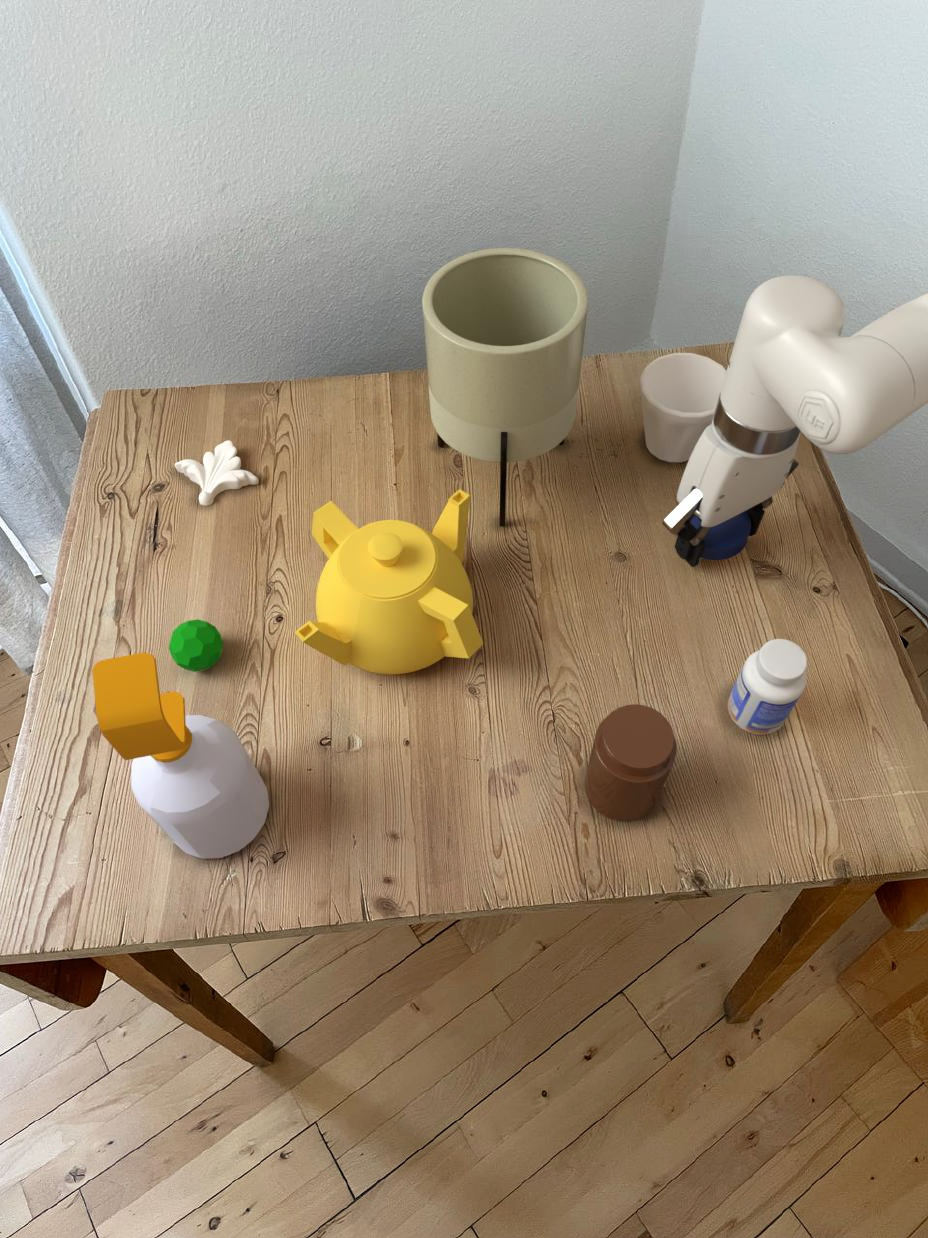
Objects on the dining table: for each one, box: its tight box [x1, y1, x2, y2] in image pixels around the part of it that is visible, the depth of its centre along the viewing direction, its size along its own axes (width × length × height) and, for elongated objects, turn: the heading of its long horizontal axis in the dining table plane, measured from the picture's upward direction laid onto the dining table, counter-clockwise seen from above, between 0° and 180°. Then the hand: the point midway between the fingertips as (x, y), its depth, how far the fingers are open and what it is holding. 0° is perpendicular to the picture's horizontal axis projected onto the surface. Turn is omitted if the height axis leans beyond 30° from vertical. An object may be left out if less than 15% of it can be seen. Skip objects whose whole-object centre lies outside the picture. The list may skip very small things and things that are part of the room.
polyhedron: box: [168, 619, 224, 673], centre depth 84 cm, size 5×5×5 cm
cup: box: [638, 352, 727, 464], centre depth 97 cm, size 10×10×9 cm
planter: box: [421, 247, 589, 527], centre depth 90 cm, size 15×16×23 cm
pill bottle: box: [727, 638, 808, 736], centre depth 78 cm, size 5×5×10 cm
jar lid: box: [690, 511, 751, 562], centre depth 90 cm, size 7×7×2 cm
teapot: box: [293, 488, 484, 675], centre depth 84 cm, size 17×17×12 cm
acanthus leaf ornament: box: [174, 440, 260, 507], centre depth 99 cm, size 8×7×2 cm
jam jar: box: [584, 703, 678, 823], centre depth 74 cm, size 7×7×11 cm
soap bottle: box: [91, 651, 270, 860], centre depth 67 cm, size 9×9×25 cm
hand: (715, 541), depth 91 cm, fingers closed on jar lid, 6 cm apart
